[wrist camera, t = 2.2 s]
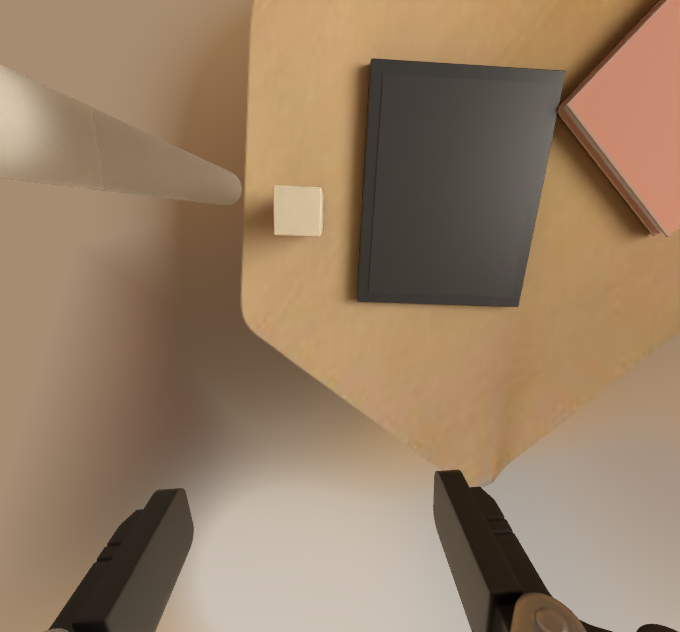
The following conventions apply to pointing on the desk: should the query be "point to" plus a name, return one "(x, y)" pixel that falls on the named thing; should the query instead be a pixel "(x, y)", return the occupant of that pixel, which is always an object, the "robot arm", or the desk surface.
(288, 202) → the cream wooden block
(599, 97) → the notebook
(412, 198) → the tablet
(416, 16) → the desk surface
